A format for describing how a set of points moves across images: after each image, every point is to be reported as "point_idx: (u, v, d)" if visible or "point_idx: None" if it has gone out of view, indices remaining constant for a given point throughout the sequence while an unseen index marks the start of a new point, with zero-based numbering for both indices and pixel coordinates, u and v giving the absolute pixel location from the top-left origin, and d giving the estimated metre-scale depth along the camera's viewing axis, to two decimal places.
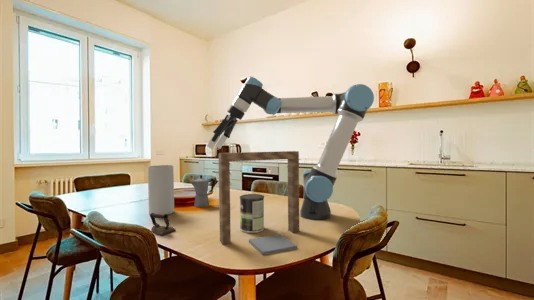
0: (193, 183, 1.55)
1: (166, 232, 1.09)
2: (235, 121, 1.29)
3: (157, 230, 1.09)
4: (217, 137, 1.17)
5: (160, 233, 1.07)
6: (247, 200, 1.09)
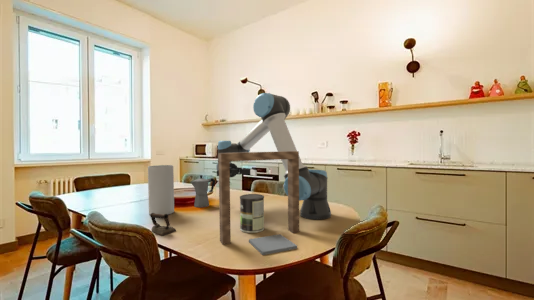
0: (193, 183, 1.55)
1: (166, 232, 1.09)
2: (243, 168, 1.41)
3: (157, 230, 1.09)
4: None
5: (160, 233, 1.07)
6: (247, 200, 1.09)
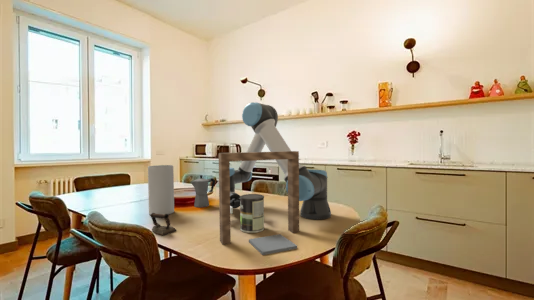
0: (193, 183, 1.55)
1: (167, 232, 1.09)
2: None
3: (158, 230, 1.09)
4: None
5: (161, 233, 1.07)
6: (247, 200, 1.09)
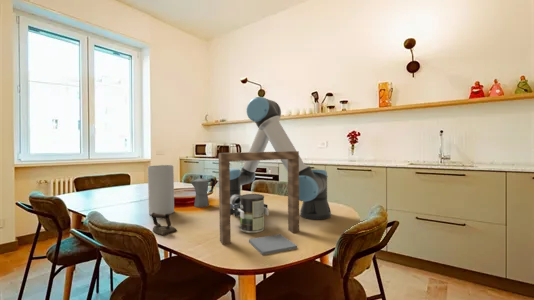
0: (193, 183, 1.55)
1: (167, 232, 1.09)
2: None
3: (158, 230, 1.09)
4: (238, 210, 1.13)
5: (161, 233, 1.07)
6: (247, 200, 1.09)
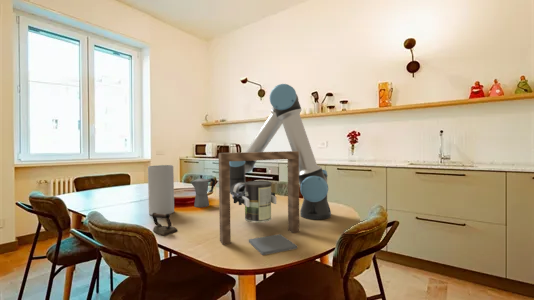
0: (193, 183, 1.55)
1: (168, 232, 1.09)
2: None
3: (159, 230, 1.09)
4: (242, 198, 1.02)
5: (162, 233, 1.07)
6: (253, 186, 0.98)
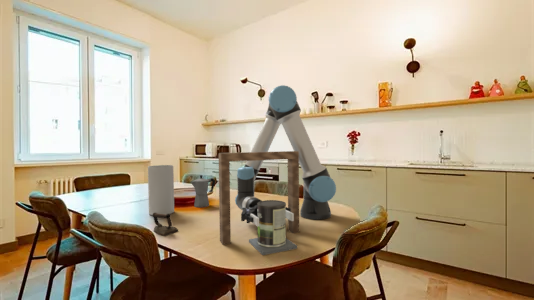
0: (193, 183, 1.55)
1: (168, 232, 1.09)
2: None
3: (159, 230, 1.09)
4: (250, 216, 0.95)
5: (162, 233, 1.07)
6: (267, 208, 0.91)
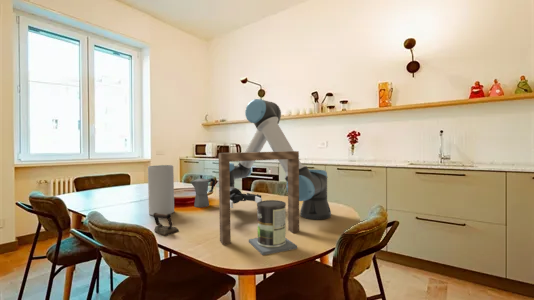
0: (193, 183, 1.55)
1: (169, 232, 1.09)
2: (247, 194, 1.35)
3: (160, 230, 1.09)
4: None
5: (163, 233, 1.07)
6: (267, 208, 0.91)
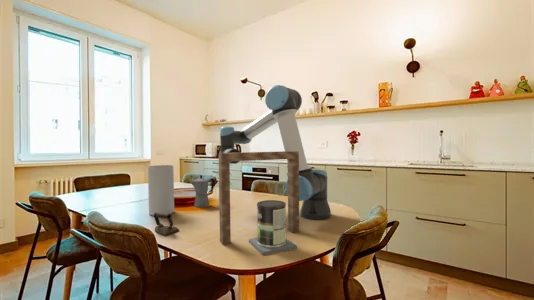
0: (193, 183, 1.55)
1: (170, 232, 1.09)
2: None
3: (161, 230, 1.09)
4: None
5: (164, 233, 1.07)
6: (267, 208, 0.91)
